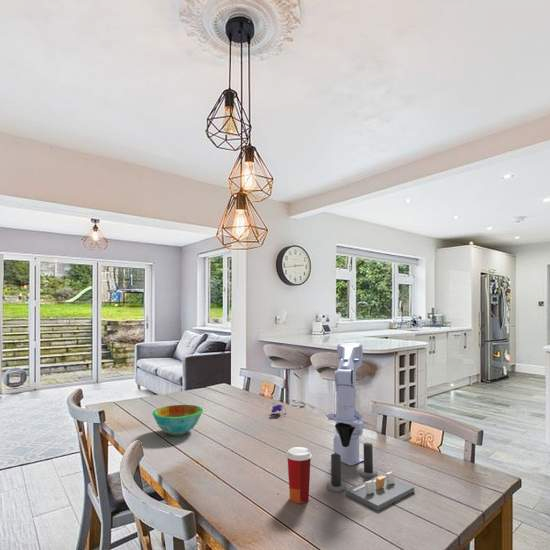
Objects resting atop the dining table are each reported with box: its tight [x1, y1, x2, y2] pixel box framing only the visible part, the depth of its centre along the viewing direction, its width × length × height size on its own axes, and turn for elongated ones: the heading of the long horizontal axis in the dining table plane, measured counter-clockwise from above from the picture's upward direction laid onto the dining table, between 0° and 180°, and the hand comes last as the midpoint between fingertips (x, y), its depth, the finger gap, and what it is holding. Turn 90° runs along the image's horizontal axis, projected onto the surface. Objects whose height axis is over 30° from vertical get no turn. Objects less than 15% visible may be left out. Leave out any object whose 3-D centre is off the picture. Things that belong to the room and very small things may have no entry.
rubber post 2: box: [359, 442, 379, 479], centre depth 134 cm, size 6×6×10 cm
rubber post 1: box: [326, 453, 347, 493], centre depth 124 cm, size 6×6×10 cm
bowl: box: [152, 404, 204, 437], centre depth 177 cm, size 22×22×10 cm
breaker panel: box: [345, 473, 415, 512], centre depth 120 cm, size 12×18×2 cm, turn 128°
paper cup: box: [285, 446, 313, 504], centre depth 118 cm, size 8×8×14 cm
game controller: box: [267, 402, 287, 417], centre depth 205 cm, size 10×8×10 cm
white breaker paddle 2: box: [384, 471, 395, 484], centre depth 124 cm, size 1×3×3 cm, turn 128°
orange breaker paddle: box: [375, 476, 385, 489], centre depth 121 cm, size 1×3×3 cm, turn 128°
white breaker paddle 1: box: [364, 479, 375, 494], centre depth 117 cm, size 1×3×3 cm, turn 128°
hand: (345, 446), depth 132 cm, fingers closed
